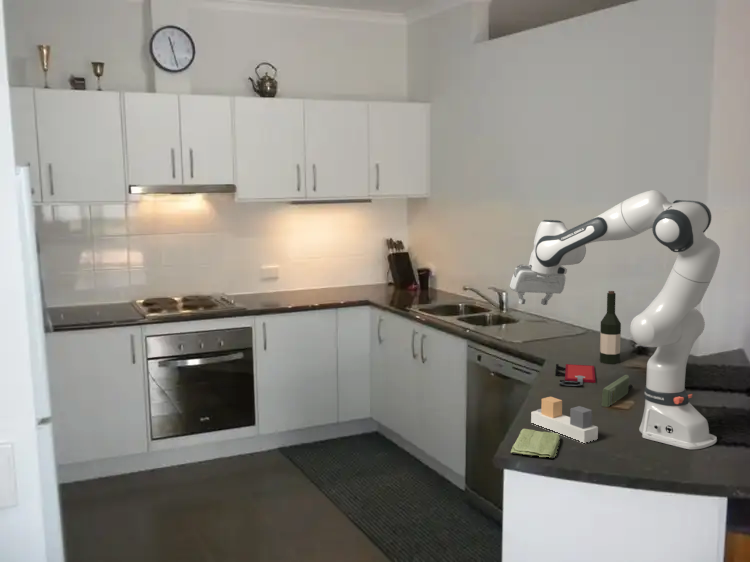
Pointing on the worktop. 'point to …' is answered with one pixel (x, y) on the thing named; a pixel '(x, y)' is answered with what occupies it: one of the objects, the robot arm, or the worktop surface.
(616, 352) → the wine bottle
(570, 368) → the red board with handle
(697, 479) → the worktop surface
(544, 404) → the orange charger
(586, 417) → the block
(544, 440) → the washcloth
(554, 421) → the power strip
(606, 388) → the handheld radio
